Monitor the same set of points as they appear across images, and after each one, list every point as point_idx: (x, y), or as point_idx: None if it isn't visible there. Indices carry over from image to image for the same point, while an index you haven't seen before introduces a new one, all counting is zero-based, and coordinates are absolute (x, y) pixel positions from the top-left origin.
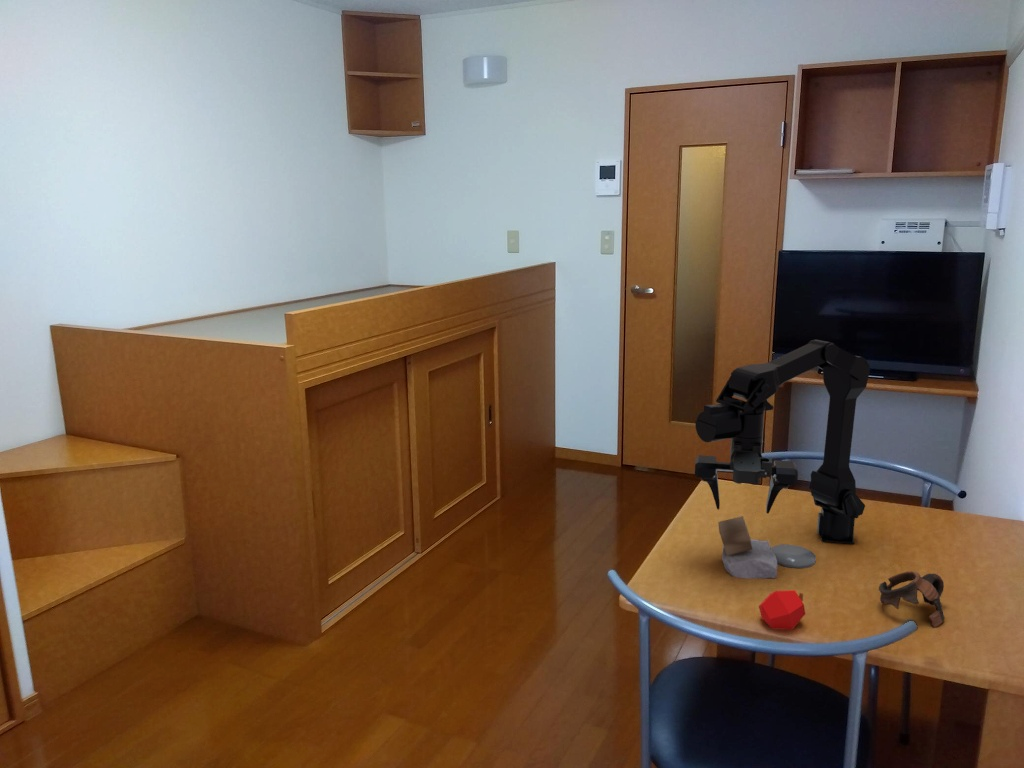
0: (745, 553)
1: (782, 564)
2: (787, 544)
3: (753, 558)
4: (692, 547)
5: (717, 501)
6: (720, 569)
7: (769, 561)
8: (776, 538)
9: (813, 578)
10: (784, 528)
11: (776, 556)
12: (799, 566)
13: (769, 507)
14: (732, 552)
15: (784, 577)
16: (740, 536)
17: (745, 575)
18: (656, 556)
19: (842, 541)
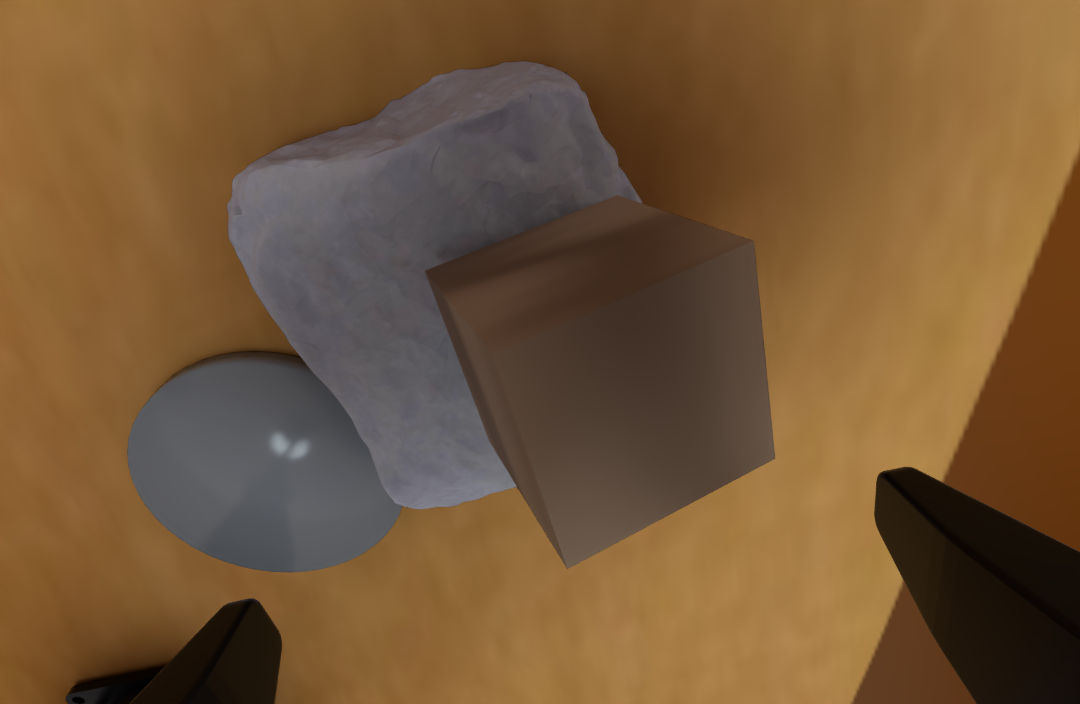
0: None
1: (285, 359)
2: (332, 565)
3: (393, 167)
4: (832, 364)
5: (1011, 547)
6: (636, 140)
7: (267, 187)
8: (418, 613)
9: (56, 274)
10: (413, 700)
11: (339, 420)
12: (184, 372)
13: (168, 681)
14: (579, 215)
15: (217, 208)
16: (532, 289)
17: (447, 82)
18: (1076, 147)
19: (116, 684)
